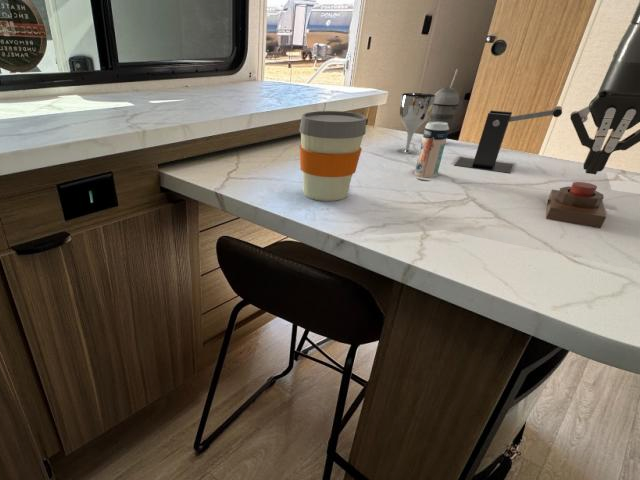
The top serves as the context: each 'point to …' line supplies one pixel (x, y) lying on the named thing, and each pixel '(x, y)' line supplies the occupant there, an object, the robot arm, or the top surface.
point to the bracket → (490, 145)
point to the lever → (538, 114)
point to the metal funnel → (415, 112)
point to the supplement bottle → (431, 149)
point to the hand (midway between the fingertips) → (590, 172)
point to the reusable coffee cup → (330, 152)
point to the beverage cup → (445, 104)
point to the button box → (576, 208)
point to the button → (583, 189)
